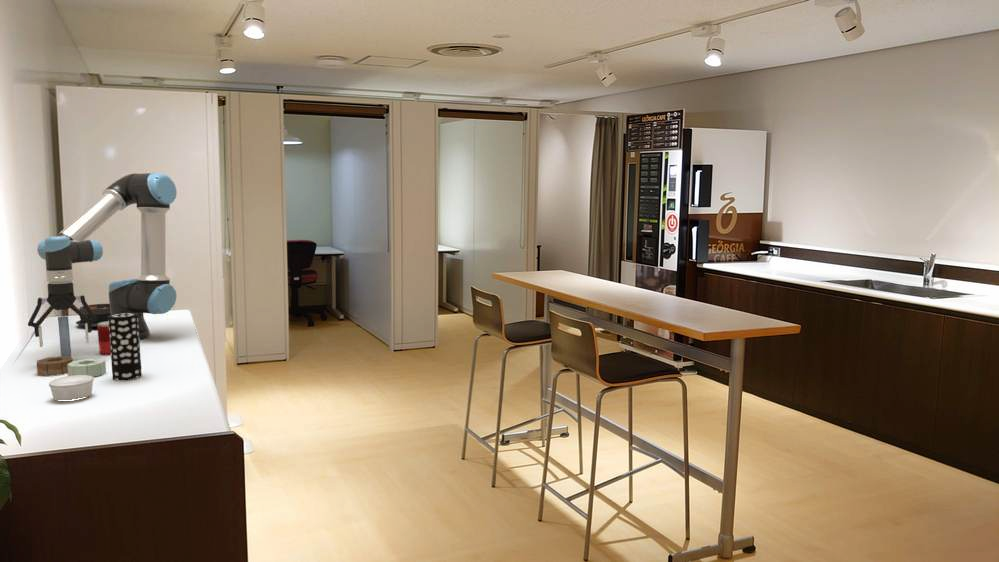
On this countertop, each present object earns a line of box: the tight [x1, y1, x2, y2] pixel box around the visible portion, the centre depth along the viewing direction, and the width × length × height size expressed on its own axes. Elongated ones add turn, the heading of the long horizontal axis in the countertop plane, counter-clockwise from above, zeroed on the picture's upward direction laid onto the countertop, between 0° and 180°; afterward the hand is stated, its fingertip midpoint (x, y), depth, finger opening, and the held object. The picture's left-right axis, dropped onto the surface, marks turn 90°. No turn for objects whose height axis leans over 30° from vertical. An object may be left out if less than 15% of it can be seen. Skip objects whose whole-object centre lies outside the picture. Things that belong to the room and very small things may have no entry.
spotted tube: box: [108, 313, 143, 381], centre depth 236 cm, size 8×8×20 cm
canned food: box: [97, 321, 111, 356], centre depth 271 cm, size 8×8×11 cm
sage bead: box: [67, 358, 107, 378], centre depth 240 cm, size 10×10×4 cm
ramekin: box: [48, 375, 95, 401], centre depth 215 cm, size 11×11×5 cm
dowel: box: [57, 315, 72, 357], centre depth 255 cm, size 3×3×16 cm
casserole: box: [75, 303, 111, 328], centre depth 323 cm, size 25×19×8 cm
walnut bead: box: [36, 355, 74, 376], centre depth 244 cm, size 10×10×4 cm
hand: (64, 344), depth 255 cm, fingers open, 13 cm apart
